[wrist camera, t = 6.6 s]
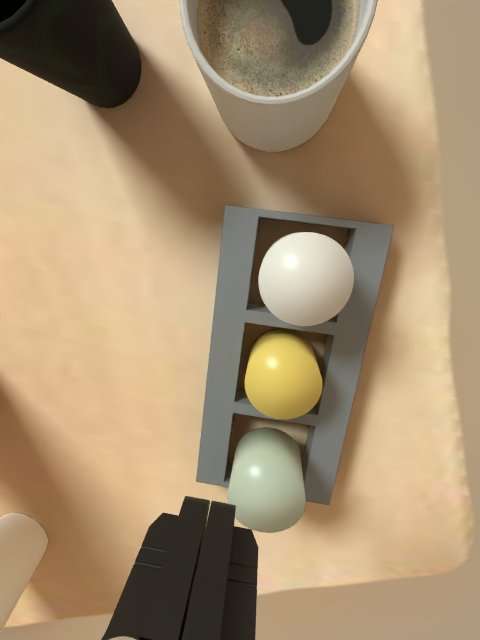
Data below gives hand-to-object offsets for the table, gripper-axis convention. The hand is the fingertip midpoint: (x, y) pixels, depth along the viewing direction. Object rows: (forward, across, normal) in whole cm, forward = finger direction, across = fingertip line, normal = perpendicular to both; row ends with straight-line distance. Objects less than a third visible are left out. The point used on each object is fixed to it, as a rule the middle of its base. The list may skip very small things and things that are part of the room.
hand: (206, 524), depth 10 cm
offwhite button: (+17, -3, -6) cm, 19 cm away
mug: (+20, +2, -20) cm, 28 cm away
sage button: (+18, -3, +10) cm, 20 cm away
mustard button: (+20, -3, +2) cm, 20 cm away
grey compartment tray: (+20, -3, +2) cm, 21 cm away
